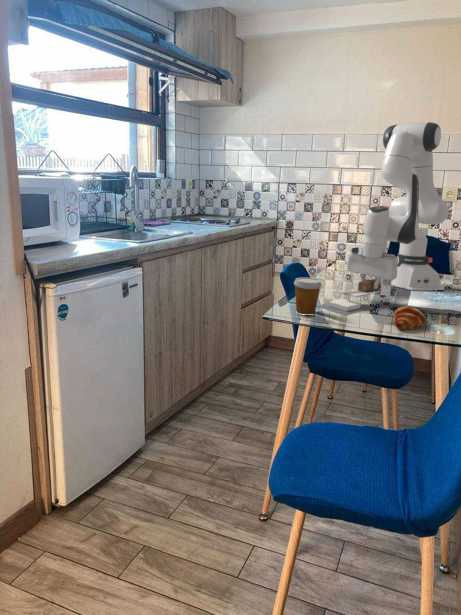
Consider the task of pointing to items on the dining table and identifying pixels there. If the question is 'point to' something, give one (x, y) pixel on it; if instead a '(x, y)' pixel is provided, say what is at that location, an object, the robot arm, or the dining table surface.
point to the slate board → (342, 312)
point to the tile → (344, 304)
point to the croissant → (408, 318)
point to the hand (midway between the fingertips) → (369, 287)
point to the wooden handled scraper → (363, 289)
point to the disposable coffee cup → (306, 294)
